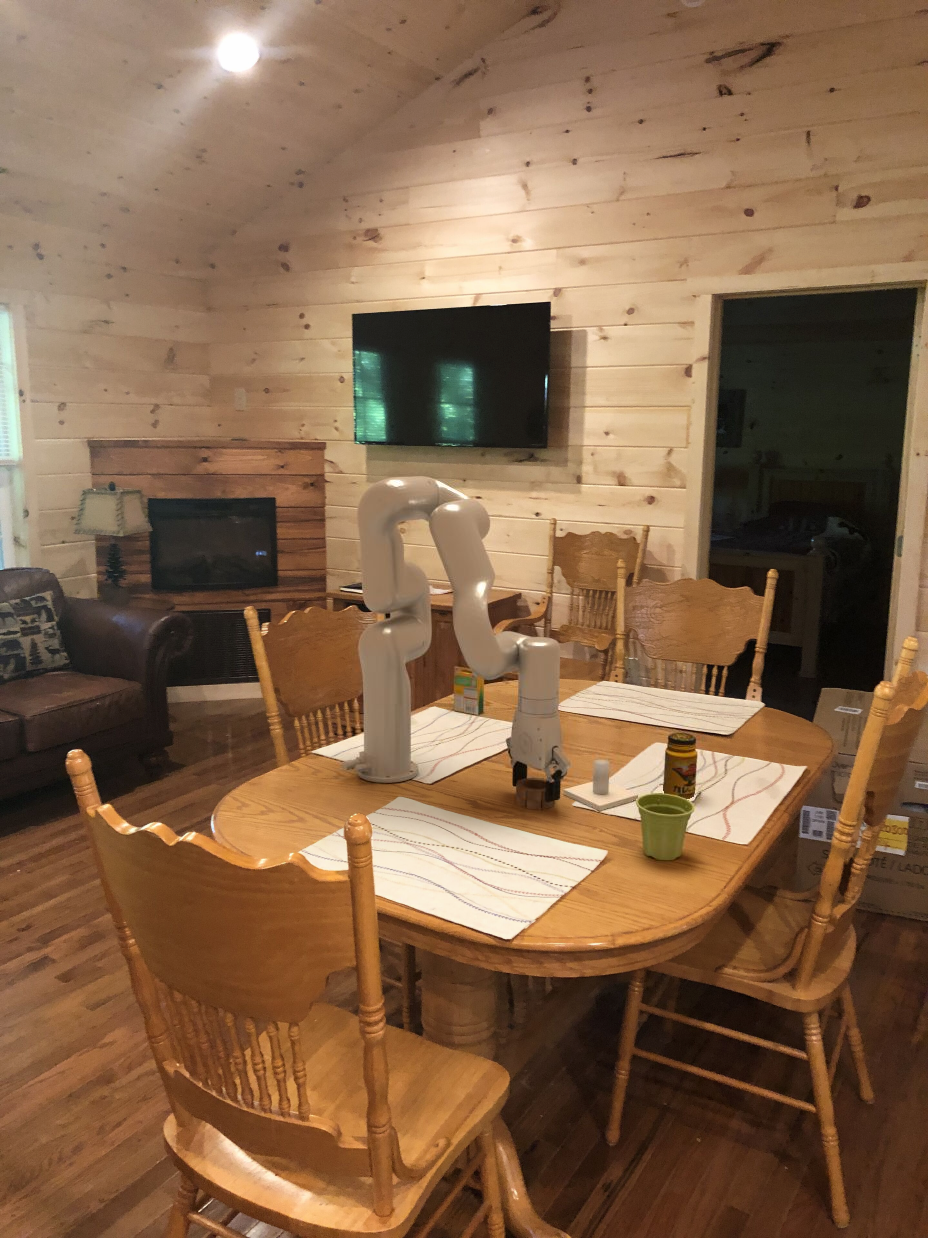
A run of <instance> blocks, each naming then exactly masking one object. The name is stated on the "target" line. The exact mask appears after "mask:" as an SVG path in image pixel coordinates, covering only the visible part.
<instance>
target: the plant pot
mask: <svg viewBox="0 0 928 1238" xmlns="http://www.w3.org/2000/svg"><path fill="white" fill-rule="evenodd" d="M635 805H636V807H637V808H638V814H639V815H640V827H641V838H642V839H641V840H642V851H643V853H644V854H645V855H646V856H647V857H653V858H654V859H655V860H658V861H674V860H675V859H677V858H680V857H681V855H682V851H683V848H684V847H683V846H684V841H685V837H686V832H687V829H688V823H689V820H690V818H691V815H692V814H693V813H694V811H695V808H696V807H695V805H694V803H693V802H690V801H689V800H687V799H685V798H682V797H679V796H676V795H670V794H663V793H652V794H650V793H647V794H643V795H640V796H638V798H637V800H635Z"/></svg>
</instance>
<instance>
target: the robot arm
mask: <svg viewBox="0 0 928 1238" xmlns="http://www.w3.org/2000/svg"><path fill="white" fill-rule="evenodd" d="M356 515H357V516H356V519H357V528H358V535H359V538H358V539H359V544H360V545H359V546H360V571H361V590H362V599H363V601H364V605H365V607H366V608H368V610H370V611H371V612H372V613H374V614H380V615H384V614H389V615H390V616H389V618H385V619H382V620H381V619H380V620H379V621H376V622H374V623H372V624H370V625H369V626H367V627H366V628H365V630H363V632H362V633H361V635H360V637H359V640H358V648H357V649H358V657H359V661H360V662H359V663H360V668H361V673H362V689H363V691H362V692H363V693H362V694H363V695H362V696H363V698H362V700H363V751H362V750H361V751H359V752H358V753H359V755H358V756H356V757H355V758H354V759H348V760H343V761H342V762H341V767H342V770H343V771H345V772H346V771H350V770H354V772H356V775H357V776H358V777H359V778H360V779H363V780H365V781H367V782H372V783H381V784H389V783H390V784H391V783H399V782H400V783H401V782H405V781H408V780H411V779H413V778H415V777H416V776H417V775H418V774H419V765H418V764H417V763H416V762H414V761H413V760H412V757H411V756H412V747H411V746H412V745H411V743H412V742H411V741H412V737H411V735H412V725H411V724H412V716H411V715H412V709H411V707H412V705H411V704H412V698H411V697H412V695H411V694H412V689H411V682H410V677H409V674H408V671H407V667H406V663H408V662H411V661H413V660H415V659H418V658H420V657H422V656H423V655H425V653H426V652H427V651H428V650H429V648H430V646H431V643H432V636H433V635H432V633H433V632H432V631H433V630H432V628H433V627H432V608H431V607H432V605H431V604H432V603H431V587H430V583H429V580H428V577H427V575H426V573H425V571H424V570H423V568H421V567H420V566H419V565H417V564H416V563H413V562H411V561H405V554H404V553H405V547H404V540H403V537H402V534H401V531H400V529H399V527H398V525H399V524H400V523H402V522H409V521H415V520H417V521H419V520H424V521H426V522H428V527H429V532H430V534H431V538H432V540H433V542H434V545H435V548H436V552H438V555H439V558H440V561H441V563H442V565H443V568H444V571H445V573H446V574H445V575H446V576H447V579H448V581H449V584H450V586H451V587H450V588H451V589H452V623H453V630H454V634H455V637H456V640H457V643H458V646H459V648H460V651H461V654H462V656H463V658H464V660H465V663H466V665H467V666H468V668H469V669H471V671H472V672H473V673H474V674H475V675H476V676H478V677H480V678H482V679H484V680H488V681H490V680H496V679H498V678H500V677H503V676H504V675H506V674H508V673H509V674H510V673H511V672H515V671H518V679H517V680H518V683H517V687H518V688H517V707H516V708H515V711H514V713H513V714H514V715H513V718H512V724H511V732H510V737H507V738H505V743H506V746H507V749H508V750H507V753H508V756H509V758H510V765H511V766H512V775H511V776H512V778H511V780H512V782H511V783H512V786H513V787H514V788H516V784H517V781H518V780H521V779H525V778H528V767H531V768H532V769H535V770H538V771H544V774H545V776H546V779H548V781H546V783H545V801H546V802H548V803H549V802H552V801H555V802H556V801H559V800H560V799H561V788H562V787H561V783H562V780H564V778H565V776H567V773H568V771H569V769H570V767H571V762H570V760H569V759H568V758H567V757H566V755H565V754H564V753H563V745H562V743H563V741H562V740H563V738H562V737H563V735H562V726H561V719H560V718H561V717H560V714H559V703H560V702H559V699H560V671H561V670H560V668H561V645H560V643H559V642H558V640H556V639H555V638H554V639H553V638H551V637H545V636H529V635H526V634H522V633H520V632H515V631H510V630H508V631H507V630H506V631H505V630H504V631H500V632H497V633H494V630H493V627H492V624H491V621H490V618H489V616H490V615H489V611H488V610H489V609H488V607H489V606H488V603H489V598H490V597H489V596H490V594H491V591H492V588H493V585H494V583H495V580H496V579H495V578H496V571H495V570H494V567H493V565H492V562H491V560H490V558H489V555H488V552H487V550H486V547H485V545H484V542H483V539H485V538H486V537H487V535H488V533H489V531H490V528H491V519H490V514H489V512H488V511H487V509H486V508H485V507H484V505H483V504H481V503H480V502H479V501H478V500H475V499H474V498H472V497H470V496H468V495H467V494H464V493H462V492H461V491H459V490H457V489H455V488H453V487H451V486H449V485H447V484H445V482H442V481H440V480H439V479H435V478H433V477H430V476H425V475H421V476H420V475H419V476H418V475H414V476H395V477H394V476H393V477H387V478H384V479H382V480H379V481H377V482H375V483H374V484H372V485H371V486H369V487H368V488H367V489H366V491H364V493H363V494H362V496H361V497H360V500H359V503H358V506H357V514H356ZM471 671H470V672H471ZM472 672H471V673H472ZM552 769H553V771H554V773H553V772H552Z"/></svg>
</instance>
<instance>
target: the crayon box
mask: <svg viewBox="0 0 928 1238" xmlns="http://www.w3.org/2000/svg"><path fill="white" fill-rule="evenodd" d="M453 671H454V674H453V675H454V676H453V677H454V678H453V711H454V712H459V713H467V714H472V715H476V716H479V715H481V714H483V713H484V712H485V711H484V709H485V708H484V706H485V704H484V703H485V702H484V701H485V699H484V698H485V697H484V695H485V679H482V678H480V677H478V676H476V675H475V674H474V673H473V672H472V671H471V669H470V668H469V667H462V666H454V670H453ZM464 671H467V672H464ZM470 672H471V673H470Z"/></svg>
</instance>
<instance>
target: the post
mask: <svg viewBox="0 0 928 1238" xmlns="http://www.w3.org/2000/svg"><path fill="white" fill-rule="evenodd" d="M610 765H611V763H610V761H609V760H607V759H595V760H593V773H592V774H593V775H592V776H593V777H592V781H590V782H586V783H583V784H579V785H575V786H571V787H567V788H564V789H563V793H562V795H564V796H566V797H568V798H571V799H573V800H575V801H577V802H579V803H581V804H583V805H585V804H586V806H589V807H590V808H592V807H593V808H592V809H595V810H597V811H599V812H601V811H605V810H608V809H611V808H614V807H613V806H615V807H618V806H621V804H622V805H624V804H623V803H625V804H628V803H631V802H630V801H632V800H635V801H636V799H637V798H639V794H637V793H635V792H632V791H631V790H628V789H625V788H623V787H621V786H618V785H616V784H613V783H611V782H610V767H611V766H610ZM627 802H628V803H627ZM632 802H633V801H632ZM617 805H618V806H617ZM610 807H611V808H610ZM607 808H608V809H607ZM604 809H605V810H604Z"/></svg>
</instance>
